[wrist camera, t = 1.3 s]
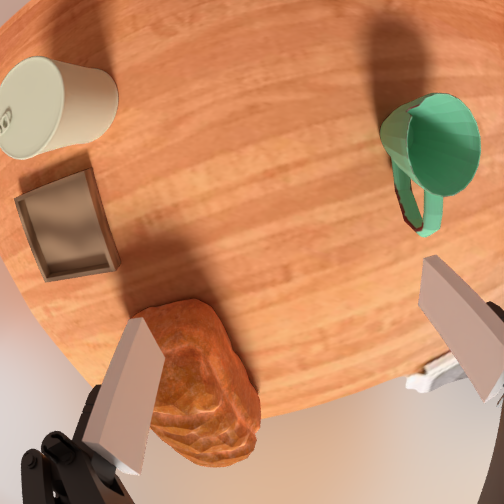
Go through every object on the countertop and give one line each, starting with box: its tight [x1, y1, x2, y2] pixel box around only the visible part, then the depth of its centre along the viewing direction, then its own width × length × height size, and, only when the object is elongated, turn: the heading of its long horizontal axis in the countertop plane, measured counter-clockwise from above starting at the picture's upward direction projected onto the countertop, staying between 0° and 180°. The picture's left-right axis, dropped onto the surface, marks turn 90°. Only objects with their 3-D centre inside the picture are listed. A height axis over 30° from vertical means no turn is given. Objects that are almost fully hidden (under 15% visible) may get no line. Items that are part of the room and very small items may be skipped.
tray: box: [14, 168, 121, 283], centre depth 31 cm, size 13×13×2 cm
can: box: [0, 56, 118, 160], centre depth 21 cm, size 9×9×12 cm
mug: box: [380, 93, 481, 237], centre depth 26 cm, size 15×10×10 cm
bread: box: [132, 298, 261, 467], centre depth 36 cm, size 14×26×16 cm, turn 17°
